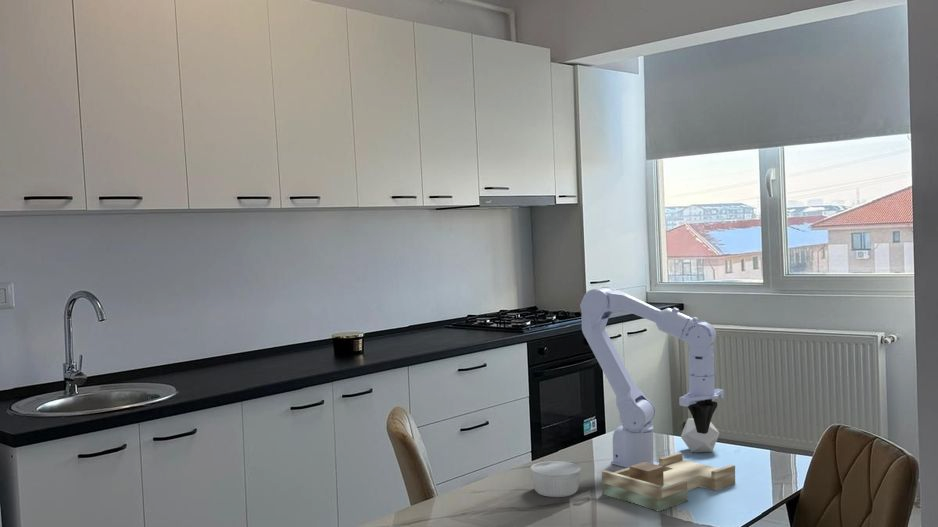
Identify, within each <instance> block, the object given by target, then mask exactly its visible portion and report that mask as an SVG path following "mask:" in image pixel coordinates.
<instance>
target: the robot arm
mask: <svg viewBox="0 0 938 527" xmlns="http://www.w3.org/2000/svg"><path fill="white" fill-rule="evenodd" d="M579 307H580V311H581V331H582V334H583V336H584V338H585V339H586V341H587V343H588V345H589V348H590V349H591V351H592V353H593V355H594V356H595V359H596V360H597V362H598V364H599V366H600V368H601V370H602V372H603V373H604V375H605V377H606V379H607V381H608V383H609V385H610V387H611V389H612V391H613V392H614V394H615V396H616V397H615V398H616V399H615V400H616V401H615V402H616V403H615V405H616V407H617V409H618V414H619V420H620V423H621V425H619V426H618V427H616V428H615V430H614V432H613V434H612V461H610V464H612V465H616V466H618V467H619V466H620V467H623V468H625V469H626V468H629V467H630V466H633V465H636V464H639V463H643V462H647V463H651V464H655V465H659V461H654V459H655V458H654V456H655V455H654V426H653V424H652V421H653V420H654V418H655V416H656V408H655V405H654V404H653V402H652V401H651V400H650V399H648V398H647V397H646V396H645V395H644V394H645V393H644V392H643V390H641V388H638V387H637V386H636V384H635V382H634V380H633V379H632V377H631V374H630V373H629V371H628V368H626V366H625V364H624V362H623V360H622V359H621V356H620V354H619V353H618V351H617V349H616V347H615V345H614V344H613V341H612V339H611V337H610V336H609V334H608V332H607V330H606V326H607V323H608V320H609V318H610V316H611V315H612V314H613V313H614V312H620V311H625V312H628V313H630V314H633V315H635V316H638V317H641V318H642V319H645V320H647V321H650V322H653V323H655V325H656V327H657V329H658V330H659V331H661V332H663V333H665V334H667V335H669V336H671V337H674V338H676V339H678V340H681V341H685V342H686V343H687V345H688V393H686V394H684V395H683V396H679V397H678V398H679V400H678V402H679V404H678V405H679V406H681V407H684V408H685V407H686V408H687V409H688V410H689V412H690V414H691V416H692V418H693V419H694V423H695V426H696V430H697V433H702V434H706V433H708V430H709V426H710V422H712V417H713V415H714V413H715V411H716V410H717V408H718V402H717V401H713V400H716V399H724V398H725V396H724V393H725V392H724V391H725V390H724V389H722V388H721V389H720V388H715V387H716V386H715V385H716V384H715V381H716V380H715V379H716V378H715V353H714V350H715V346H714V341H715V340H716V337H717V332H716V328H715V327H714V326H713V325H712V323H709V322H708V320H707V321H706V320H699V317H696V316H693V317H691V316H689V315H686V314H684V313H682V312H680V309H679V308H677V307H673V308H670V307H667V308H665V309H662V310H661V309H660V308H657V307H655V306H653V305H651V304H650V303H647V302H645V301H643V300H641V299H639V298H637V297H634V296H632V295H630V294H629V293H626V292H623V291H622V290H619V289H614V288H612V287H610V286H602V287H600V288H593V289H589V290H588V291H586V293H585V294H584V295H583V297H582V300H581V302H580V304H579Z"/></svg>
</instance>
